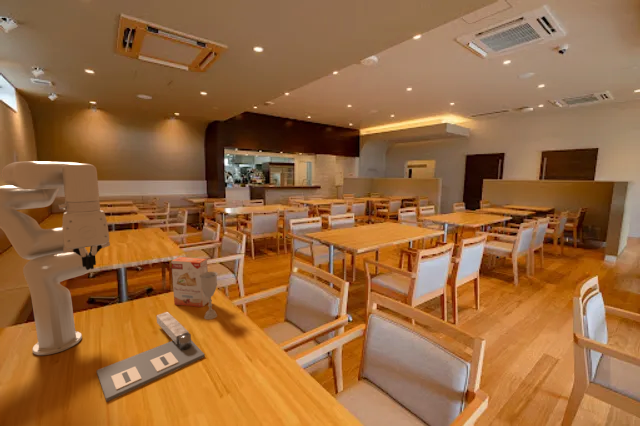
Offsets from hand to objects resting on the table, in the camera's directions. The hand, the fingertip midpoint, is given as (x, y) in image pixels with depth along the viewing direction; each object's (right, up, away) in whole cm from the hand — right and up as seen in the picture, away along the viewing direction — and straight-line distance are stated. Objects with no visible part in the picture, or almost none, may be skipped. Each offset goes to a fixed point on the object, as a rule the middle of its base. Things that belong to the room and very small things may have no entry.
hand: (89, 268), depth 85 cm
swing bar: (+16, -27, +18) cm, 37 cm away
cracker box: (+10, -25, +45) cm, 53 cm away
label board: (+16, -31, +4) cm, 35 cm away
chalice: (+23, -27, +34) cm, 49 cm away
